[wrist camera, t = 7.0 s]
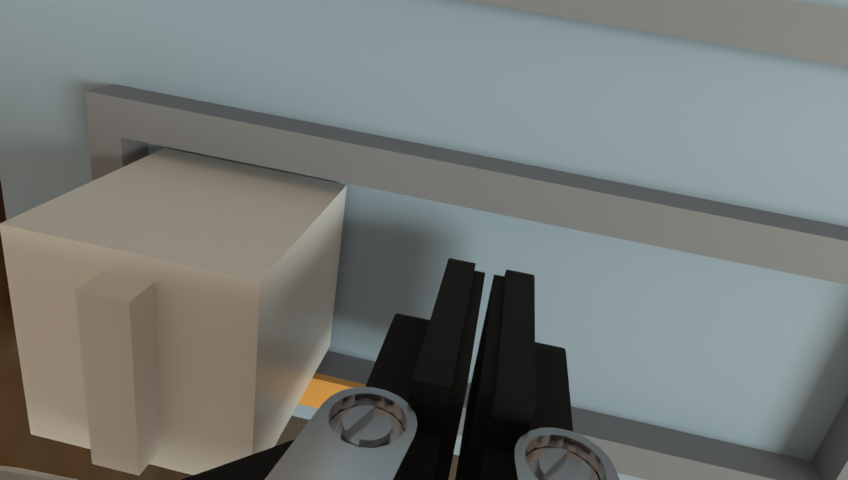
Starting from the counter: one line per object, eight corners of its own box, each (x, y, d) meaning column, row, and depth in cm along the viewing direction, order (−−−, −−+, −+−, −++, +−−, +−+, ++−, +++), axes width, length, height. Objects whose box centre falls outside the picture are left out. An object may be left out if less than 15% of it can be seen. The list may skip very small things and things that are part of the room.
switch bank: (865, 517, 15) (918, 602, 13) (57, 328, 17) (-9, 376, 15) (1494, -473, 8) (1840, -636, 6) (-52, -613, 10) (-212, -775, 8)
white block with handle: (329, 345, 14) (234, 518, 10) (168, 308, 14) (3, 458, 10) (347, 184, 13) (241, 301, 8) (164, 147, 13) (-36, 240, 8)
